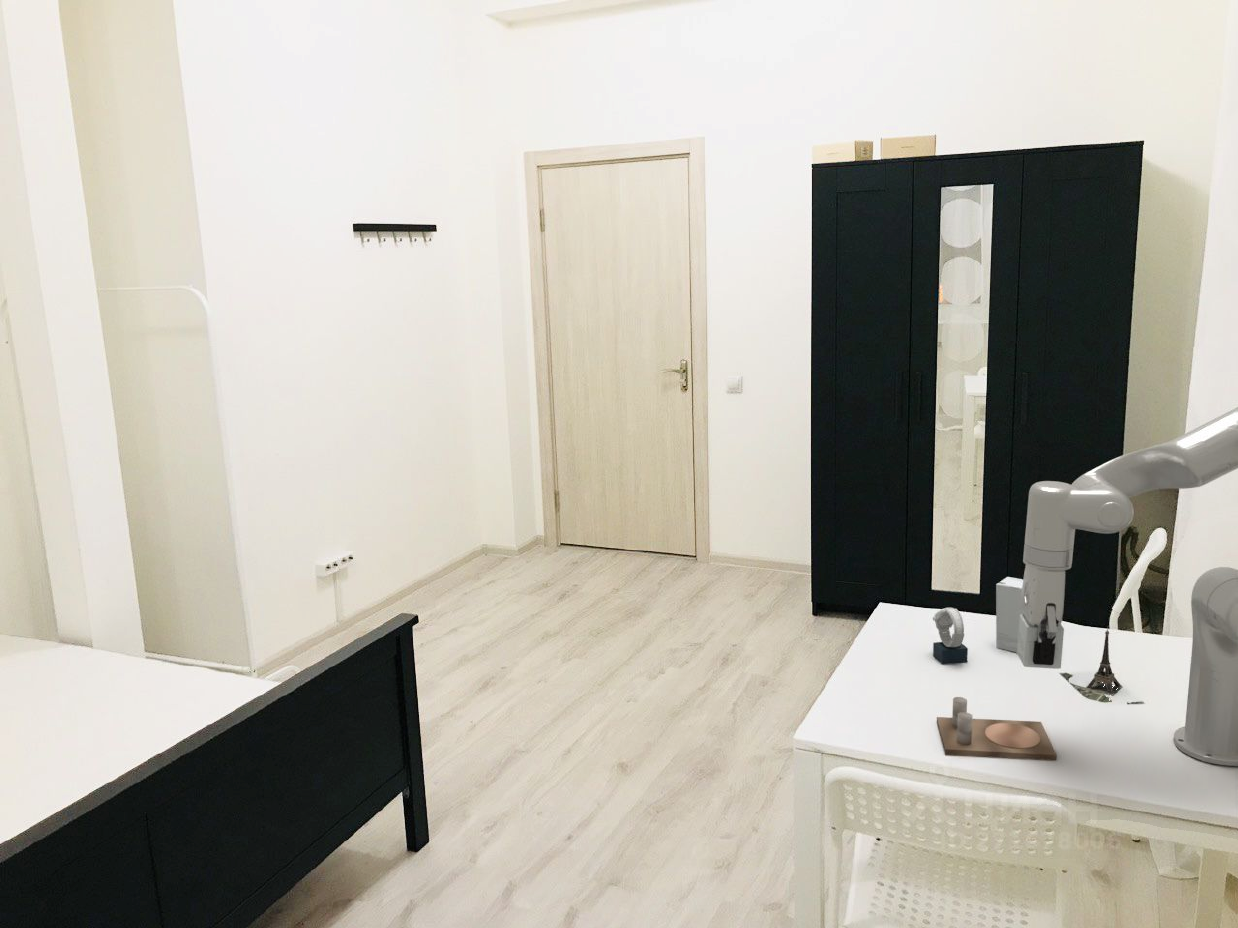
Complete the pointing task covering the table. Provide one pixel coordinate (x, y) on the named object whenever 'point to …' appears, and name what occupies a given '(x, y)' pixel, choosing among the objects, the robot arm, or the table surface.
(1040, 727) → the board
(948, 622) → the watch
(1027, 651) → the skincare box
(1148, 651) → the table surface
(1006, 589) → the skincare box
